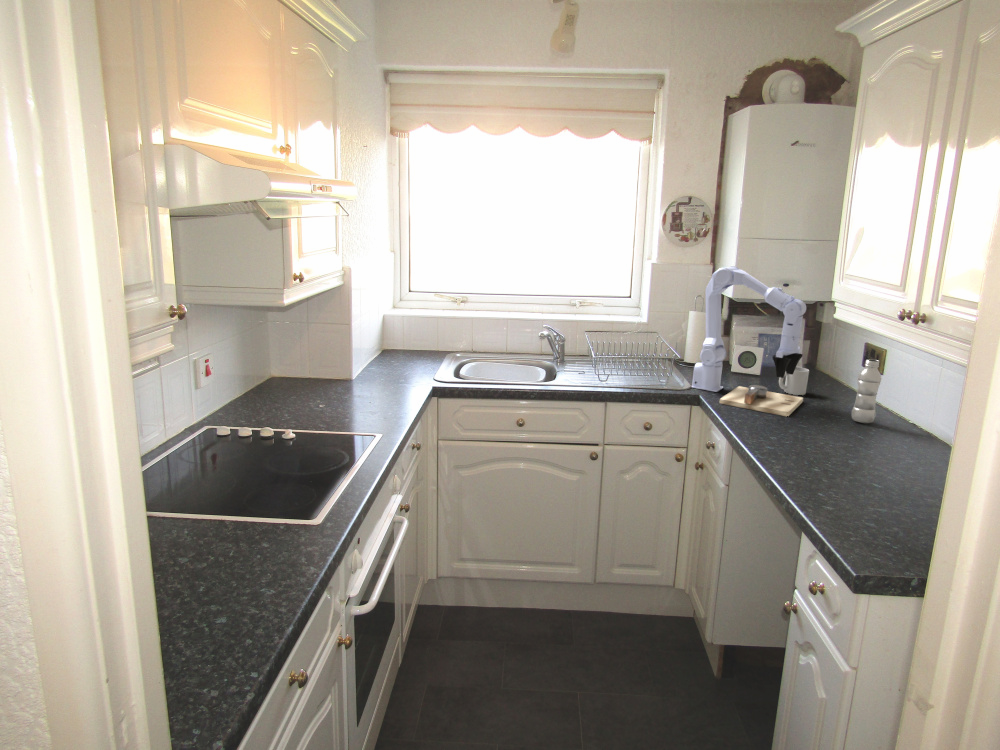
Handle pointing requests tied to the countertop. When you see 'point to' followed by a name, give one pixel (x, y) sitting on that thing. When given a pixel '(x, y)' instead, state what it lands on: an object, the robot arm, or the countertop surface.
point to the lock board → (763, 402)
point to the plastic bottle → (867, 392)
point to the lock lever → (755, 393)
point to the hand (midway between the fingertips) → (784, 375)
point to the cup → (795, 381)
